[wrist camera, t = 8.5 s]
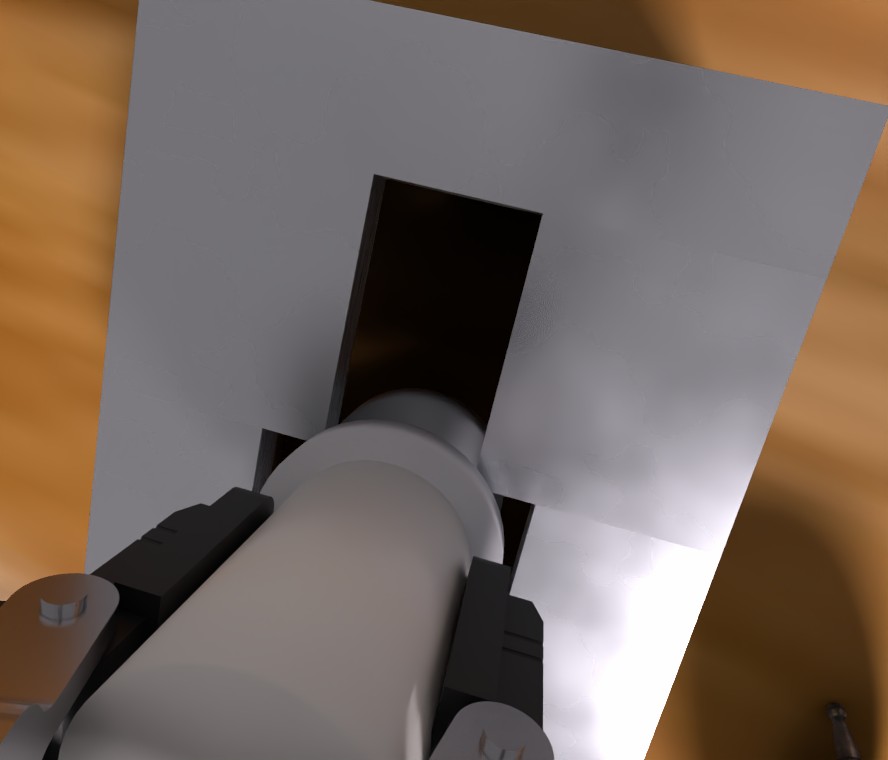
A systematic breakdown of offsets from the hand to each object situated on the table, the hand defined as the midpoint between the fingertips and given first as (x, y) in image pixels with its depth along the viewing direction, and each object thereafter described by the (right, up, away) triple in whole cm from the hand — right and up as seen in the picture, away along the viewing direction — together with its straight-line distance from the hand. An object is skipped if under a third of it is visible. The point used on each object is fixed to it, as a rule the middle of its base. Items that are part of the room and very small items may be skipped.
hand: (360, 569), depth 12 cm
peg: (+1, +1, +5) cm, 5 cm away
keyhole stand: (+2, +4, +10) cm, 11 cm away
